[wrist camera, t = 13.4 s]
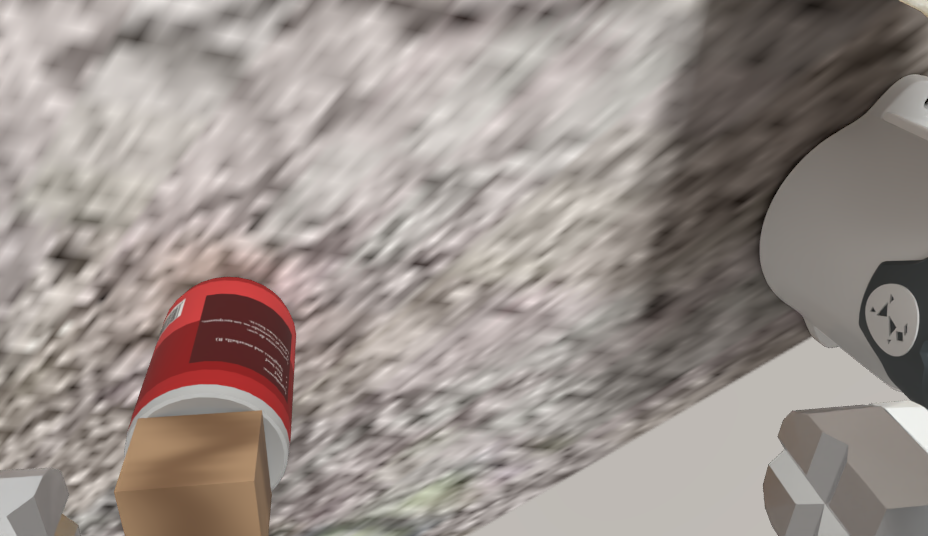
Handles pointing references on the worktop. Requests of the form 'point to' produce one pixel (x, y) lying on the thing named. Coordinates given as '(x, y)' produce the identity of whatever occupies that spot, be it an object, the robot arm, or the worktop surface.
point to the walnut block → (196, 476)
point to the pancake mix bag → (918, 5)
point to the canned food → (225, 361)
